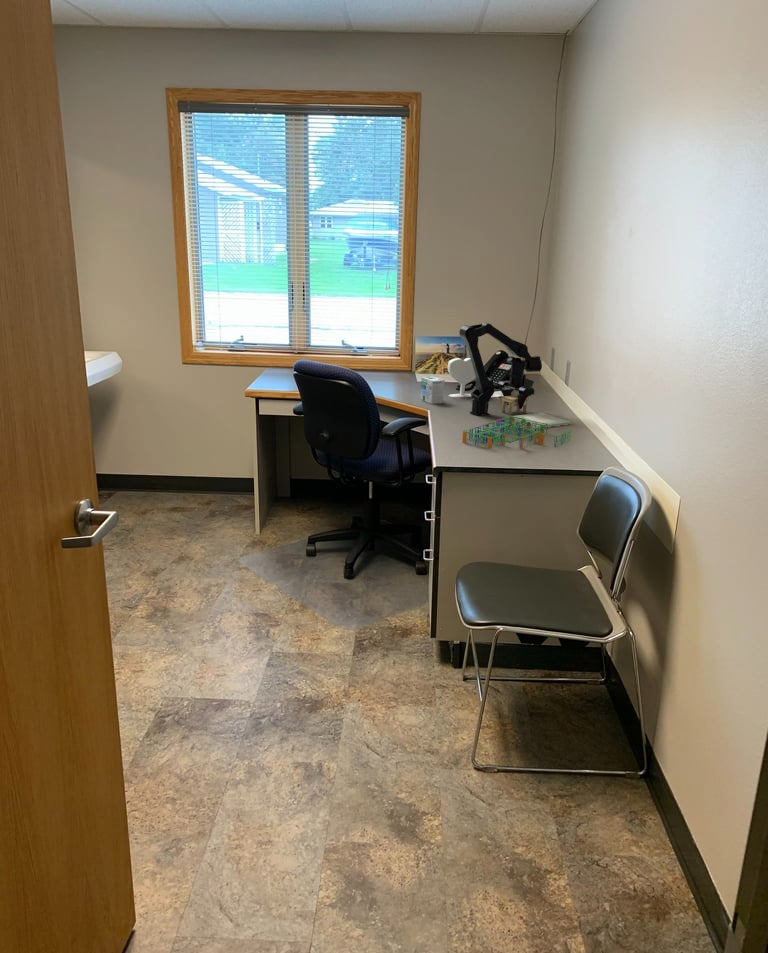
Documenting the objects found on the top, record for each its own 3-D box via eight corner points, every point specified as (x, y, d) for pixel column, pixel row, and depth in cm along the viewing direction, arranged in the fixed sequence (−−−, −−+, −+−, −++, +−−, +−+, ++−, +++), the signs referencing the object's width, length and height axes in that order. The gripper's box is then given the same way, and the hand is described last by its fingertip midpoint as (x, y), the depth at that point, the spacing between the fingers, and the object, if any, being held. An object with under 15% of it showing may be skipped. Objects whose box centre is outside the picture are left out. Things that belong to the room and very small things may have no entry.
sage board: (537, 428, 305) (537, 426, 305) (509, 419, 320) (509, 416, 319) (570, 424, 314) (570, 421, 313) (541, 415, 328) (541, 412, 328)
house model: (508, 426, 308) (508, 415, 307) (574, 440, 291) (575, 428, 289) (460, 442, 283) (461, 430, 281) (529, 459, 265) (530, 446, 264)
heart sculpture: (475, 394, 368) (477, 357, 362) (478, 396, 363) (481, 359, 358) (445, 394, 364) (447, 357, 359) (448, 397, 360) (450, 359, 354)
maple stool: (509, 415, 327) (510, 399, 325) (500, 412, 332) (501, 396, 330) (526, 413, 332) (528, 397, 330) (518, 410, 337) (519, 394, 335)
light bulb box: (419, 399, 352) (420, 376, 349) (432, 398, 355) (433, 375, 352) (431, 404, 343) (432, 380, 340) (443, 403, 346) (445, 380, 343)
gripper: (545, 374, 323) (542, 409, 327) (517, 367, 338) (514, 401, 343) (525, 376, 317) (522, 412, 322) (498, 368, 332) (495, 403, 337)
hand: (514, 407), depth 331 cm, fingers open, 8 cm apart
